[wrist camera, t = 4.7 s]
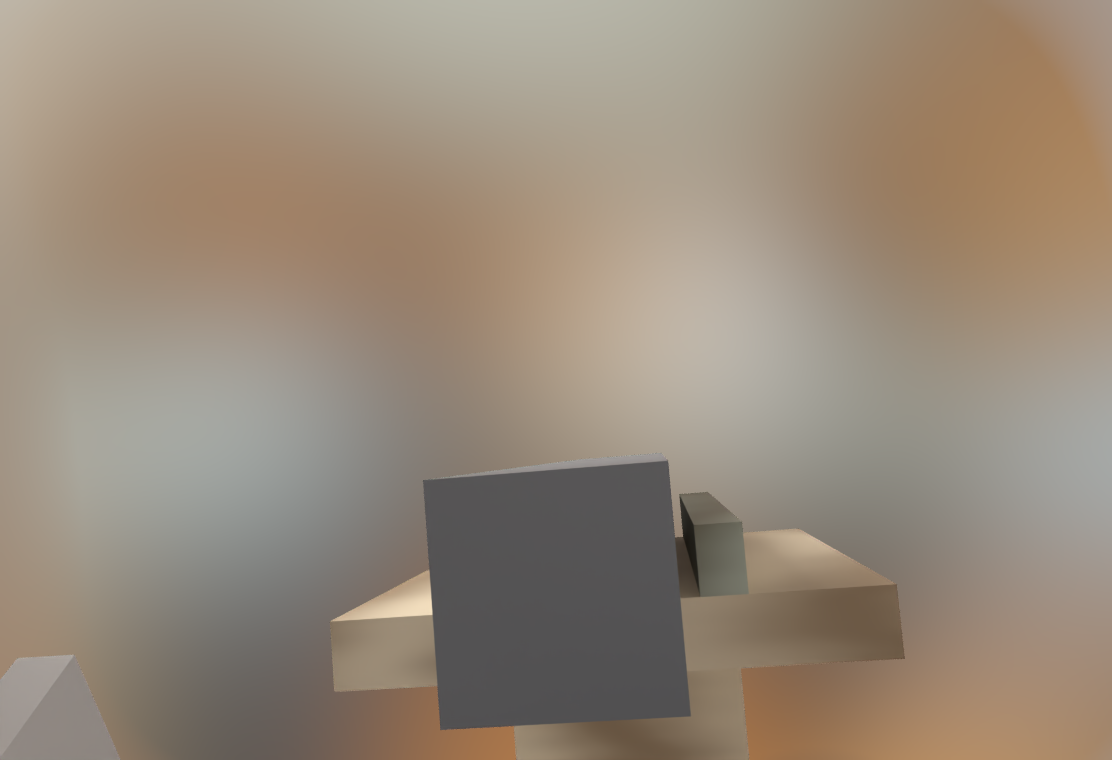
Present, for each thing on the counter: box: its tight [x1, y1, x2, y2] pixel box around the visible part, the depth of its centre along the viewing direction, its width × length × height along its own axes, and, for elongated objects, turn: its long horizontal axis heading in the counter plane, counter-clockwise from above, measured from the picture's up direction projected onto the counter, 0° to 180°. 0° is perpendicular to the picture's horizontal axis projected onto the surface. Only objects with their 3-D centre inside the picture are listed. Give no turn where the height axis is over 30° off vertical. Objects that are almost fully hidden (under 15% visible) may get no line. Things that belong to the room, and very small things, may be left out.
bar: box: [423, 453, 691, 730], centre depth 24 cm, size 3×24×3 cm, turn 174°
